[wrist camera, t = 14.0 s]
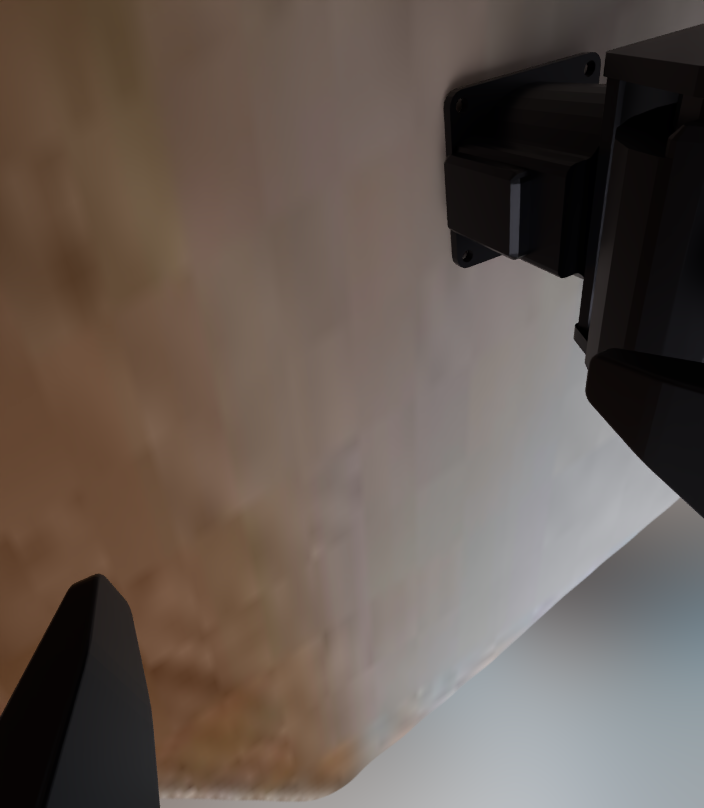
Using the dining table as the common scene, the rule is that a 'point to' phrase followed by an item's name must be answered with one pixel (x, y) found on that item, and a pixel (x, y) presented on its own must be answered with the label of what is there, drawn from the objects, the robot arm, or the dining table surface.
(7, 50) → the dining table surface
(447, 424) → the dining table surface
